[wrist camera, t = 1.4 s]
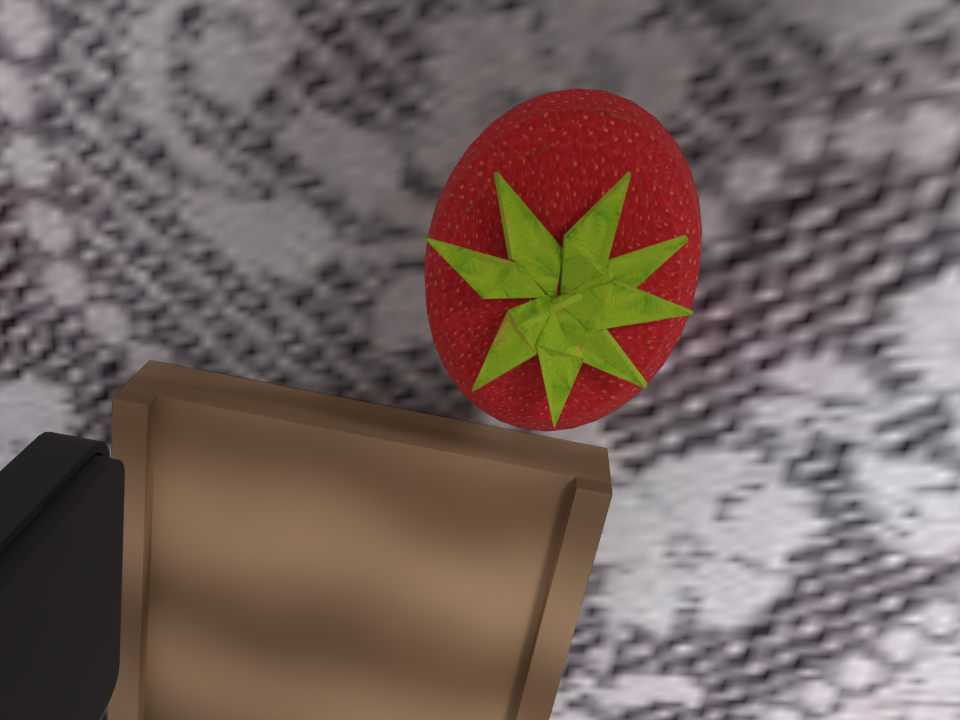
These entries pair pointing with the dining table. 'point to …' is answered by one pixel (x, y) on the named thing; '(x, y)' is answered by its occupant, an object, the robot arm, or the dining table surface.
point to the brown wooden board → (342, 556)
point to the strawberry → (563, 259)
